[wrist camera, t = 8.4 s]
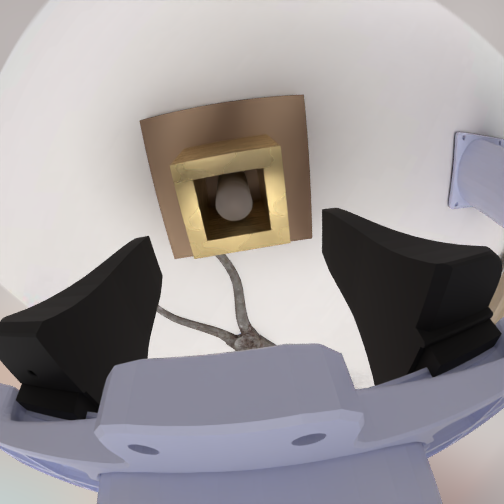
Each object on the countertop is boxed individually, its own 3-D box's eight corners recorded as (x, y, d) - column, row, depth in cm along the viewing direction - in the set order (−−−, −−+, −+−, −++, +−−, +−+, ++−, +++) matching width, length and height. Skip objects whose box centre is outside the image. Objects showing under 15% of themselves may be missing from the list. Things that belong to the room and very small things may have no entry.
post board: (298, 94, 17) (326, 94, 12) (307, 229, 23) (329, 270, 18) (145, 118, 17) (115, 127, 12) (177, 249, 23) (165, 295, 18)
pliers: (184, 223, 21) (330, 334, 30) (186, 218, 22) (328, 329, 30) (124, 293, 24) (267, 374, 33) (127, 287, 25) (266, 369, 33)
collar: (266, 134, 17) (280, 145, 13) (276, 209, 20) (290, 242, 16) (183, 148, 17) (169, 165, 13) (200, 222, 20) (194, 258, 16)
